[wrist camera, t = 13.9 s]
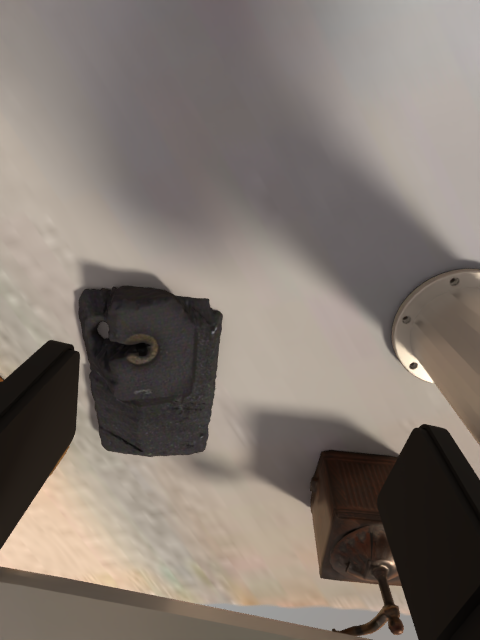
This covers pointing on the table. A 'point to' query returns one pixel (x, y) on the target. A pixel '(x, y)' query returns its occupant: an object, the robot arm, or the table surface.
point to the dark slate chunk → (151, 368)
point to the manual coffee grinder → (354, 528)
